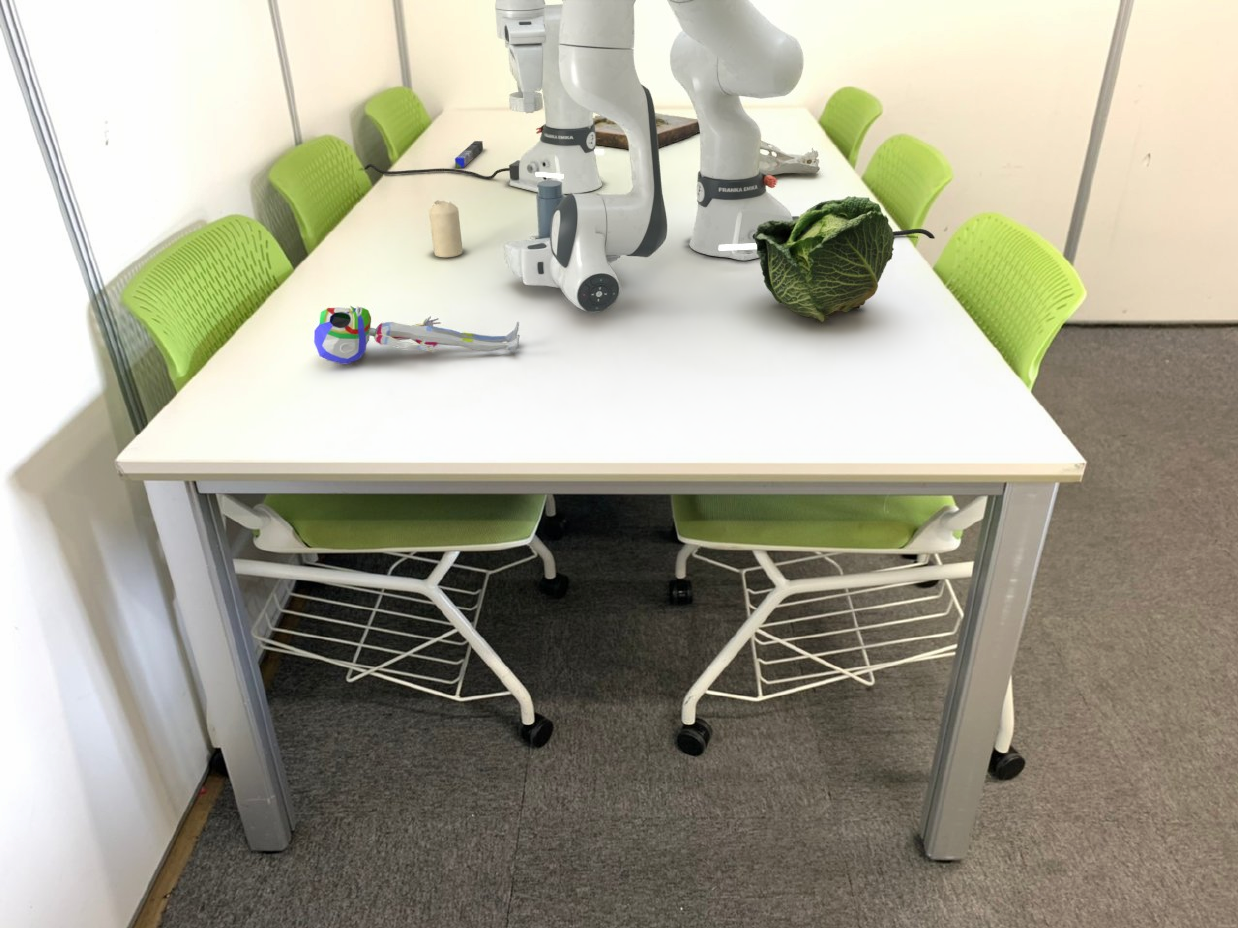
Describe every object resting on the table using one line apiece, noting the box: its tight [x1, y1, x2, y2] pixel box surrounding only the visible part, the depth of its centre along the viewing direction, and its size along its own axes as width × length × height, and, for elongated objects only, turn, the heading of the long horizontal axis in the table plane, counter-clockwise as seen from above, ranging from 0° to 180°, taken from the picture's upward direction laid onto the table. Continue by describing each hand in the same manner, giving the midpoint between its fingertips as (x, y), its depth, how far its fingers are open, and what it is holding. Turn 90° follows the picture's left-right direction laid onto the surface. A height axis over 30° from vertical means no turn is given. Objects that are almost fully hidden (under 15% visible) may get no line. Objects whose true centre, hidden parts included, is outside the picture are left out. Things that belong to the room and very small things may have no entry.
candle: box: [428, 200, 464, 258], centre depth 172 cm, size 6×6×10 cm
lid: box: [508, 91, 544, 113], centre depth 165 cm, size 6×6×2 cm
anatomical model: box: [759, 140, 821, 176], centre depth 220 cm, size 15×9×25 cm
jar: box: [535, 180, 566, 239], centre depth 163 cm, size 5×5×16 cm
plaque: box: [593, 112, 700, 150], centre depth 257 cm, size 30×7×30 cm
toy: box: [312, 305, 520, 365], centre depth 135 cm, size 10×8×30 cm
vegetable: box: [754, 195, 896, 323], centre depth 144 cm, size 20×19×20 cm
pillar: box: [454, 140, 484, 169], centre depth 238 cm, size 2×2×20 cm
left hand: (526, 108), depth 166 cm, fingers closed on lid, 6 cm apart
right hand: (551, 237), depth 165 cm, fingers closed on jar, 5 cm apart
